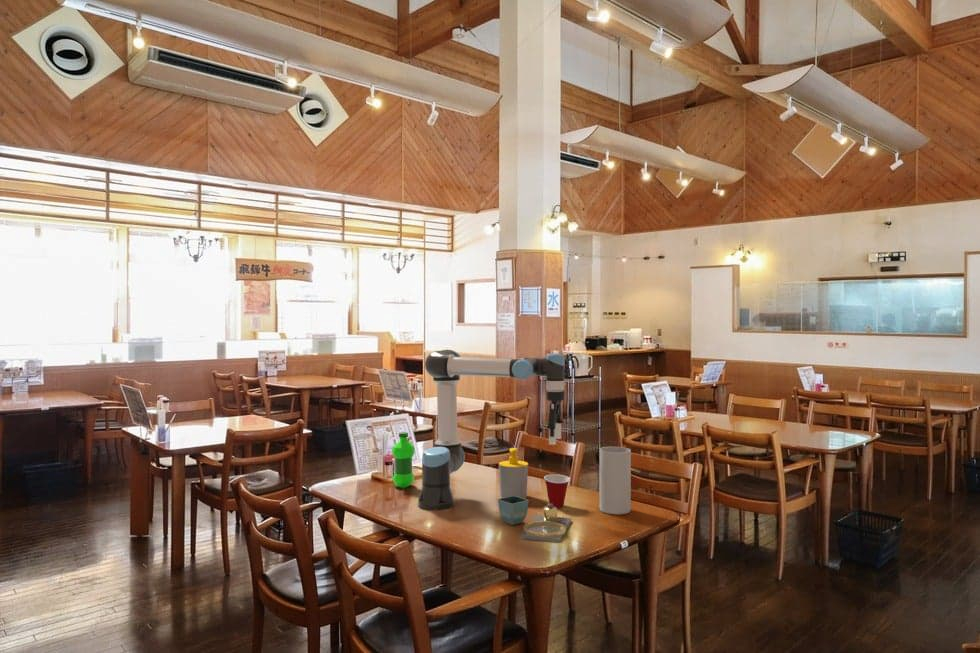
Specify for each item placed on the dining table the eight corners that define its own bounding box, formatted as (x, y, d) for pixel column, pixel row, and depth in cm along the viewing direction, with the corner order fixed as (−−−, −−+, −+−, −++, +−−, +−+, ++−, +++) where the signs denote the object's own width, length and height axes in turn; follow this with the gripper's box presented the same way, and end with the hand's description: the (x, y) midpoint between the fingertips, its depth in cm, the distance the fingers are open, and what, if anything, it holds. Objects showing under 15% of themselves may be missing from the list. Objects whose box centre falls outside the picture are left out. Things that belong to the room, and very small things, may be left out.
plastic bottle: (397, 490, 295) (397, 435, 295) (389, 485, 304) (389, 432, 304) (417, 487, 300) (417, 433, 300) (409, 482, 309) (408, 430, 309)
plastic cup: (556, 511, 262) (556, 481, 262) (538, 505, 270) (538, 476, 270) (575, 506, 268) (575, 478, 268) (557, 500, 277) (557, 473, 277)
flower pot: (514, 517, 253) (514, 495, 253) (529, 523, 246) (529, 499, 246) (497, 522, 248) (497, 498, 248) (512, 527, 241) (512, 504, 241)
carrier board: (519, 538, 229) (519, 516, 229) (534, 518, 253) (534, 498, 253) (561, 542, 225) (561, 520, 224) (572, 521, 249) (572, 501, 248)
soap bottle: (494, 499, 280) (494, 450, 280) (503, 491, 292) (503, 445, 292) (523, 501, 276) (523, 452, 276) (531, 494, 288) (531, 446, 288)
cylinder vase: (596, 506, 268) (596, 446, 268) (625, 505, 269) (625, 446, 269) (604, 515, 256) (604, 452, 256) (634, 514, 257) (634, 452, 257)
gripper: (559, 394, 255) (559, 447, 255) (568, 388, 279) (568, 436, 279) (540, 393, 257) (540, 446, 257) (551, 387, 281) (551, 435, 281)
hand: (555, 441), depth 268 cm, fingers open, 13 cm apart
